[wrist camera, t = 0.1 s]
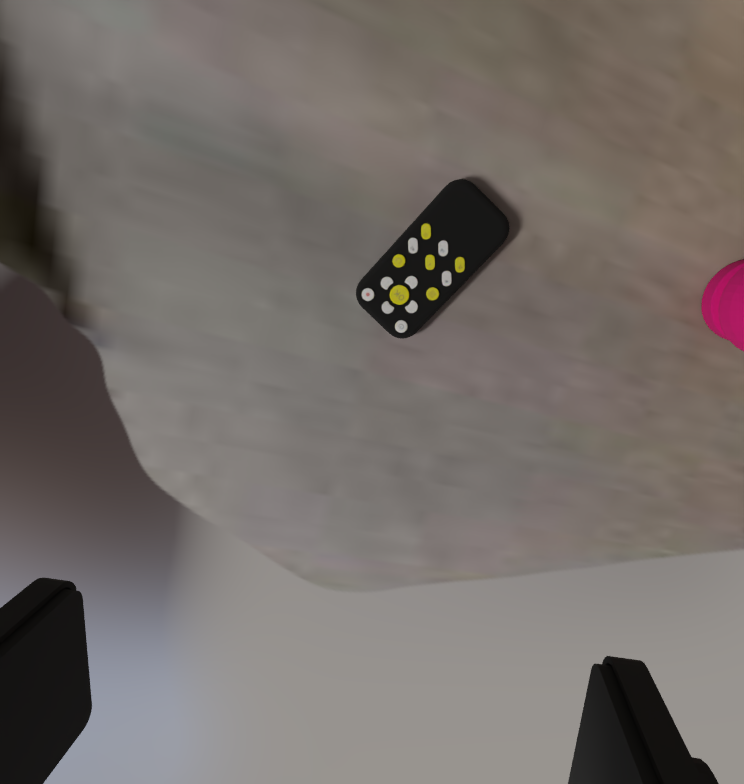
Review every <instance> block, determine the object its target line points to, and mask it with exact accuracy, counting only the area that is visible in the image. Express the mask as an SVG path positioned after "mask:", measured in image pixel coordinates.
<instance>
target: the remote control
mask: <svg viewBox="0 0 744 784" xmlns="http://www.w3.org/2000/svg"><path fill="white" fill-rule="evenodd" d="M508 233H509V223H508V220H507V218H506V216H505V215H504V214H503V213H502V212H501V211H500V210H499V209H498V208H497V207H496V206H495V205H494V204H493V203H492V202H491V201H490V200H489V199H488V198H487V197H486V196H485V195H484V194H483V193H482V192H481V191H480V190H479V189H478V188H477V187H476V186H475V185H474V184H473V183H472V182H470V181H467V180H463V179H459V180H454V181H452V182H450V183H449V184H448V185H447V186H445V188H444V189H443V190H442V191H441V192H440V193H439V194H438V195H437V196H436V198H435V199H434V200H433V201H432V202H431V203H430V204H429V205H428V206H427V208H426V209H425V210H424V211H423V212H422V213H421V214H420V215H419V216H418V217H417V219H416V220H415V221H414V222H413V223H412V224H411V225H410V226H409V227H408V229H407V230H406V231H405V232H404V233H403V234H402V235H401V236H400V237H399V238H398V240H397V241H396V242H395V243H394V244H393V245H392V246H391V247H390V248H389V250H388V251H387V252H386V253H385V254H384V255H383V256H382V257H381V258H380V260H379V261H378V262H377V263H376V264H375V265H374V266H373V267H372V268H371V269H370V271H369V272H368V273H367V274H366V275H365V276H364V277H363V278H362V279H361V281H360V282H359V284H358V286H357V289H356V296H357V300H358V302H359V304H360V305H361V306H362V308H363V309H365V310H366V311H367V312H368V313H369V314H370V315H371V316H372V317H373V318H374V319H375V320H376V321H377V322H378V323H379V324H380V325H381V326H382V327H383V328H384V329H385V330H386V331H388V332H389V333H390V334H391V335H392V336H394V337H397V338H408V337H410V336H412V335H414V334H415V333H416V332H417V331H418V330H419V329H420V328H421V327H422V326H423V325H424V324H425V323H426V322H427V321H428V320H429V319H430V318H431V317H432V316H433V315H434V314H435V313H436V311H437V310H438V309H439V308H440V307H441V306H442V305H443V304H444V303H445V302H446V301H447V300H448V299H449V298H450V297H451V296H452V295H453V294H454V293H455V292H456V291H457V290H458V289H459V288H460V287H461V286H462V285H463V284H464V283H465V282H466V281H467V280H468V279H469V278H470V277H471V276H472V275H473V274H474V272H475V271H476V270H477V269H478V268H479V267H480V266H481V265H482V264H483V263H484V262H485V261H486V260H487V259H488V258H489V257H490V256H491V255H492V254H493V253H494V252H495V251H496V250H497V249H498V248H499V247H500V246H501V245H502V244H503V242H504V241H505V240H506V238H507V236H508Z"/></svg>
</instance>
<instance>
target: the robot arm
mask: <svg viewBox="0 0 744 784" xmlns="http://www.w3.org/2000/svg"><path fill="white" fill-rule="evenodd" d="M91 709H92V701H91V690H90V678H89V666H88V655H87V643H86V632H85V620H84V609H83V598H82V594H81V593H80V592H79V591H76V586H75V585H74V583H72V582H70V581H64V580H57V579H50V578H39V579H37V580H35V581H34V582H32V583H31V584H30V585H29V586H27V587H26V588H25V589H24V590H22V591H21V592H20V593H19V594H17V595H16V596H15V597H14V598H12V599H11V600H10V601H9V602H8V603H6V604H5V605H4V606H3V607H1V608H0V784H43V783H44V781H45V780H46V779H47V777H48V776H49V775H50V773H51V772H52V771H53V769H54V768H55V767H56V765H57V764H58V763H59V761H60V760H61V759H62V757H63V756H64V755H65V753H66V752H67V751H68V749H69V748H70V747H71V745H72V744H73V743H74V741H75V740H76V739H77V737H78V736H79V735H80V733H81V732H82V731H83V729H84V728H85V726H86V724H87V722H88V720H89V717H90V714H91ZM568 784H718V782H717V780H716V778H715V776H714V774H713V773H712V771H711V770H710V768H709V767H708V765H707V764H706V763H705V762H703V761H702V760H701V759H697V758H692V757H691V755H690V754H689V751H688V749H687V748H686V745H685V744H684V741H683V739H682V737H681V735H680V733H679V731H678V729H677V727H676V725H675V723H674V721H673V719H672V717H671V715H670V713H669V711H668V709H667V707H666V705H665V703H664V701H663V699H662V697H661V695H660V693H659V691H658V689H657V687H656V685H655V683H654V681H653V679H652V677H651V675H650V673H649V671H648V669H647V667H646V665H645V664H644V663H643V662H642V661H640V660H632V659H625V658H618V657H610V656H607V657H605V659H604V660H603V664H594V665H593V666H592V669H591V674H590V679H589V684H588V689H587V693H586V699H585V703H584V708H583V713H582V718H581V723H580V728H579V733H578V737H577V742H576V748H575V752H574V758H573V762H572V767H571V772H570V777H569V782H568Z"/></svg>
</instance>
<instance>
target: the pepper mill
mask: <svg viewBox="0 0 744 784" xmlns="http://www.w3.org/2000/svg"><path fill="white" fill-rule="evenodd" d="M702 314H703V318H704V320H705V322H706V324H707V325H708V327H709V328H710V329H711V330H712V331H713V332H714V333H715V334H717V335H718V336H720V337H722V338H724V339H727V340H730V341H731V342H732V343H733V344H734V345H735V346H736V347H737V348H739V349H740V350H742V351H744V260H740V261H736V262H734V263H732V264H729V265H728V266H726V267H724V268H723V269H721V270H720V271H719V272H718V273H717V274H716V275H715V276H714V277H713V278H712V279H711V281H710V282H709V283H708V285H707V287H706V289H705V291H704V294H703V298H702Z"/></svg>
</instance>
